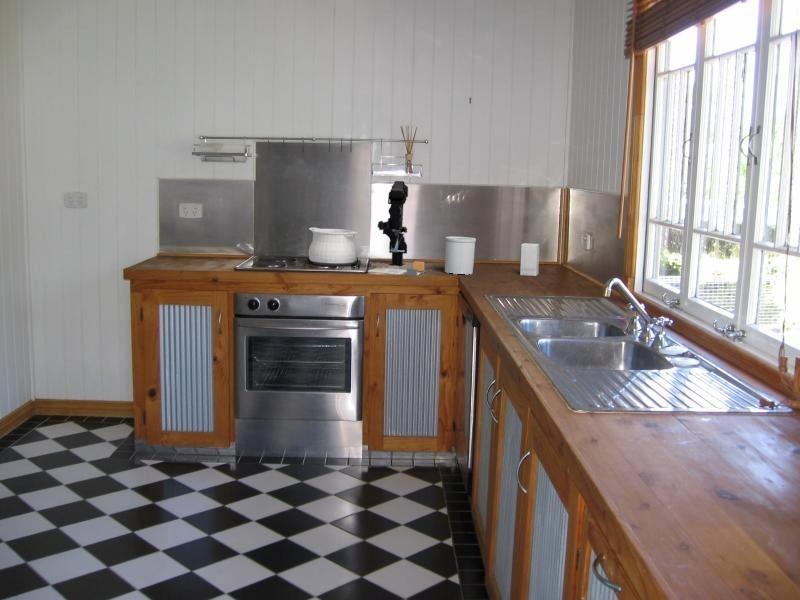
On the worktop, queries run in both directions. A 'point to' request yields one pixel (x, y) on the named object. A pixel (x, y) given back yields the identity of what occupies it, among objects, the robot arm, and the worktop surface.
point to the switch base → (414, 272)
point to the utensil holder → (459, 255)
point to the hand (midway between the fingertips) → (394, 248)
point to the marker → (395, 248)
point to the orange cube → (418, 265)
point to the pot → (332, 247)
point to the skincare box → (529, 259)
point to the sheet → (388, 271)
